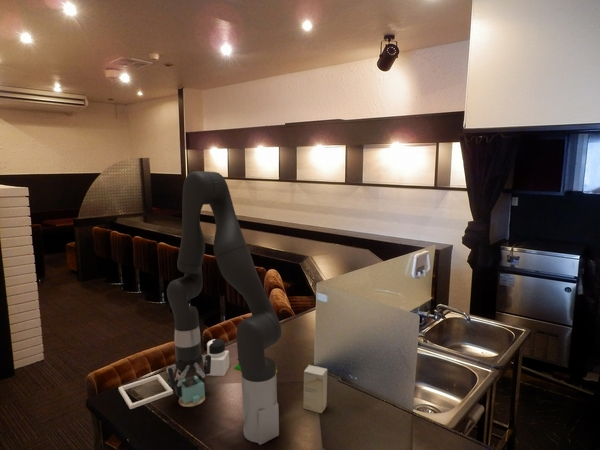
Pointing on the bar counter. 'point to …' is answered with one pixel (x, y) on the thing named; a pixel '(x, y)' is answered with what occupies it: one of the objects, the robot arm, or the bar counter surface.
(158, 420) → the bar counter surface
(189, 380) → the peg stand
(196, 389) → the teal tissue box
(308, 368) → the skincare box
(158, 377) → the tray
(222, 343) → the medicine bottle
